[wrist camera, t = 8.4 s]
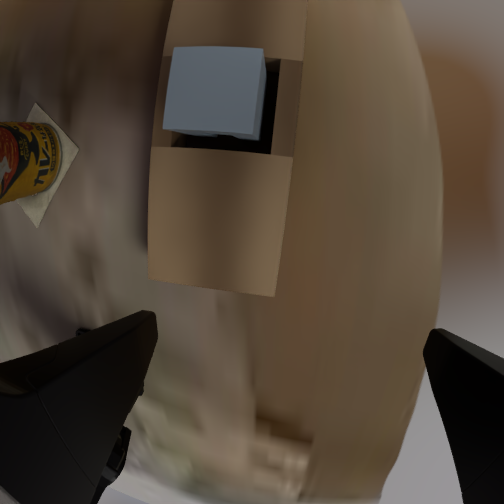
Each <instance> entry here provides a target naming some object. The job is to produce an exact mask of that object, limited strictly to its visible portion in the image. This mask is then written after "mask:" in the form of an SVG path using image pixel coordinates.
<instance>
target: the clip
mask: <svg viewBox="0 0 504 504" xmlns="http://www.w3.org/2000/svg"><path fill="white" fill-rule="evenodd" d="M266 92H267V75H266V67H265V59H264V52H263V49H261V48H246V47H221V46H196V47H174V51H173V56H172V62H171V68H170V75H169V81H168V88H167V95H166V103H165V111H164V120H163V129H165V130H170V131H175V132H180V133H185V134H189V135H194V136H198V137H212V138H217V134H222V135H232V136H234V137H237V138H239V139H241V140H248V141H257V142H261V134H262V125H263V117H264V109H265V100H266Z"/></svg>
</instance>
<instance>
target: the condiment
mask: <svg viewBox="0 0 504 504" xmlns="http://www.w3.org/2000/svg"><path fill="white" fill-rule="evenodd" d="M78 150H79V148H78V147H77V146H76V145H75V144H74V143H73V142H72V141H71V140H70V139H69V138H68V137H67V135H66V134H65V133H64V132H63V131H62V130H61V129H60V128H59V127H58V125H57V124H56V123H55V122H54V121H53V120H52V119H51V118H50V117H49V116H48V115H47V114H46V113H45V112H44V111H43V110H42V109H41V108H40V107H39V106H38V105H37V104H36V102H35V104H34V106H33V108H32V110H31V112H30V113H29V116H28V118H27V120H26V121H25V122H0V205H1V204H3V203H6V202H10V201H14V200H16V201H17V203H18V204H19V205H20V206H21V207H22V209H23V211H24V212H25V213H26V214H27V215H28V217H29V218H30V219H31V221H32V222H33V223H34V225H35V226H36V227H37V228H38V226H39V224H40V222H41V220H42V218H43V216H44V213H45V211H46V209H47V207H48V205H49V203H50V201H51V199H52V197H53V195H54V193H55V192H56V190H57V188H58V186H59V185H60V183H61V181H62V179H63V177H64V176H65V174H66V172H67V170H68V169H69V167H70V165H71V163H72V161H73V160H74V158H75V156H76V155H77V153H78ZM36 193H37V195H35V194H36ZM32 195H34V196H32Z"/></svg>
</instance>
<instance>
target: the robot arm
mask: <svg viewBox="0 0 504 504" xmlns="http://www.w3.org/2000/svg"><path fill="white" fill-rule="evenodd" d="M80 333H81V334H80ZM157 339H158V331H157V321H156V315H155V313H154V312H152V311H146V310H141V311H139V312H136V313H134V314H132V315H129V316H127V317H124V318H122V319H119V320H117V321H114V322H112V323H109V324H107V325H104V326H102V327H99V328H97V329H94V330H92V331H88V330H84V329H81V328H79V329H78V330H77V331H76V337H74V338H72V339H69V340H66V341H64V342H61V343H59V344H58V345H57V344H56V345H54V346H51V347H48V348H46V349H43V350H40V351H38V352H35V353H32V354H29V355H26V356H23V357H19V358H16V359H13V360H9V361H6V362H2V363H0V504H97V503H98V501H99V499H100V497H101V495H102V493H103V492H104V490H105V488H106V487H107V486H108V485H110V484H111V483H113V482H114V481H115V480H116V479H117V477H118V476H119V475H120V473H121V472H122V470H123V468H124V465H125V461H126V456H127V451H128V446H129V441H130V436H131V430H130V429H128V428H127V427H125V426H123V424H124V422H125V420H126V418H127V415H128V413H130V411H131V409H132V407H133V406H134V404H135V402H136V400H137V398H138V396H142V394H143V392H144V389H143V387H144V379H145V376H146V373H147V370H148V367H149V364H150V361H151V358H152V355H153V352H154V349H155V346H156V343H157ZM423 357H424V361H425V365H426V368H427V372H428V376H429V380H430V384H431V388H432V391H433V394H434V397H435V400H436V403H437V406H438V409H439V412H440V415H441V418H442V421H443V424H444V428H445V431H446V434H447V438H448V441H449V444H450V448H451V452H452V455H453V459H454V463H455V467H456V471H457V475H458V479H459V483H460V488H461V492H462V499H463V503H464V504H504V358H501V357H500V356H498V355H495V354H493V353H491V352H489V351H487V350H485V349H483V348H481V347H479V346H477V345H475V344H473V343H471V342H469V341H467V340H465V339H463V338H461V337H459V336H457V335H455V334H453V333H450V332H448V331H447V330H445V329H442V328H438V329H432V330H431V331H430V333H429V336H428V338H427V341H426V344H425V346H424V349H423Z"/></svg>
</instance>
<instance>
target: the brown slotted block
mask: <svg viewBox="0 0 504 504" xmlns="http://www.w3.org/2000/svg"><path fill="white" fill-rule="evenodd" d="M307 6H308V0H174V1H173V5H172V10H171V14H170V19H169V24H168V29H167V34H166V39H165V44H164V50H163V56H162V62H161V68H160V74H159V81H158V89H157V96H156V104H155V113H154V123H153V133H152V145H151V158H150V174H149V197H148V279H151V280H157V281H164V282H170V283H176V284H183V285H190V286H196V287H203V288H210V289H217V290H225V291H232V292H240V293H247V294H255V295H263V296H272V297H274V296H275V290H276V283H277V276H278V269H279V262H280V255H281V248H282V241H283V233H284V226H285V218H286V211H287V203H288V195H289V187H290V179H291V171H292V162H293V154H294V145H295V136H296V127H297V118H298V108H299V99H300V89H301V78H302V67H303V56H304V45H305V33H306V20H307ZM196 46H221V47H246V48H261V49H263V52H264V59H265V67H266V71H269V72H279V83H278V92H277V102H276V111H275V120H274V130H273V139H272V148H271V155H269V154H260V153H250V152H240V151H228V150H215V149H199V148H186V141H187V134H185V133H180V132H175V131H170V130H165V129H163V120H164V111H165V103H166V95H167V88H168V81H169V75H170V68H171V62H172V56H173V51H174V47H196Z"/></svg>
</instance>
